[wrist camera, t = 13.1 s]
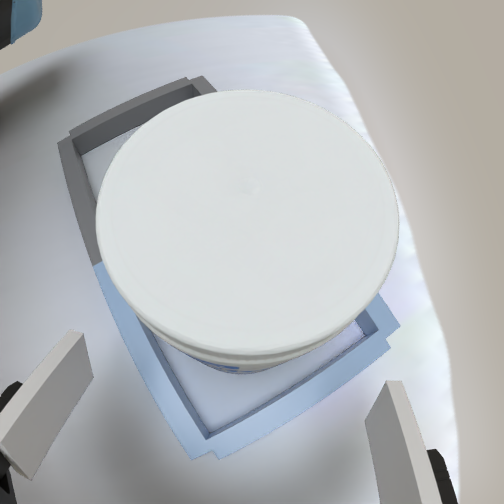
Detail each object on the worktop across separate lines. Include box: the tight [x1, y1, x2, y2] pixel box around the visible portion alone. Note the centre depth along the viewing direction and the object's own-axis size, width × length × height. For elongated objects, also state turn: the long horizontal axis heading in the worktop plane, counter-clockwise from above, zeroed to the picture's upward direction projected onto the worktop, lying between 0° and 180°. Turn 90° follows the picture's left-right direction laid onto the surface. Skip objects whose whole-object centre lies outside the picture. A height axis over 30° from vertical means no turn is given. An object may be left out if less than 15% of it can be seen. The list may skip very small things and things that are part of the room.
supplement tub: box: [96, 90, 399, 374], centre depth 16 cm, size 10×10×15 cm
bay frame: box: [57, 76, 400, 460], centre depth 23 cm, size 30×16×2 cm, turn 31°
